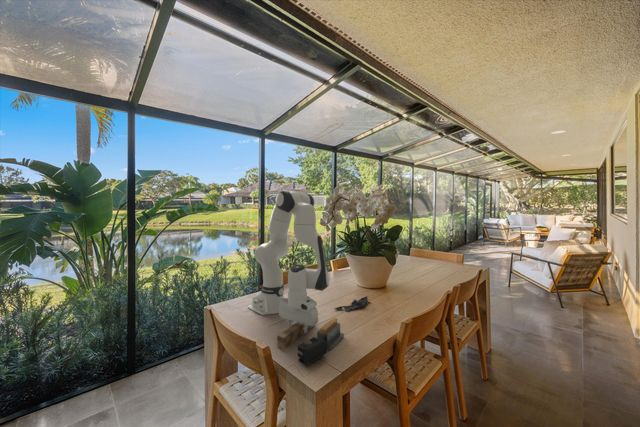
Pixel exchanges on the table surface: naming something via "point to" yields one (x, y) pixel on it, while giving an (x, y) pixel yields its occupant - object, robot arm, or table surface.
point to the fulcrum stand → (330, 333)
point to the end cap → (311, 350)
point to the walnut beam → (291, 335)
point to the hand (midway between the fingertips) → (298, 330)
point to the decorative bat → (354, 304)
